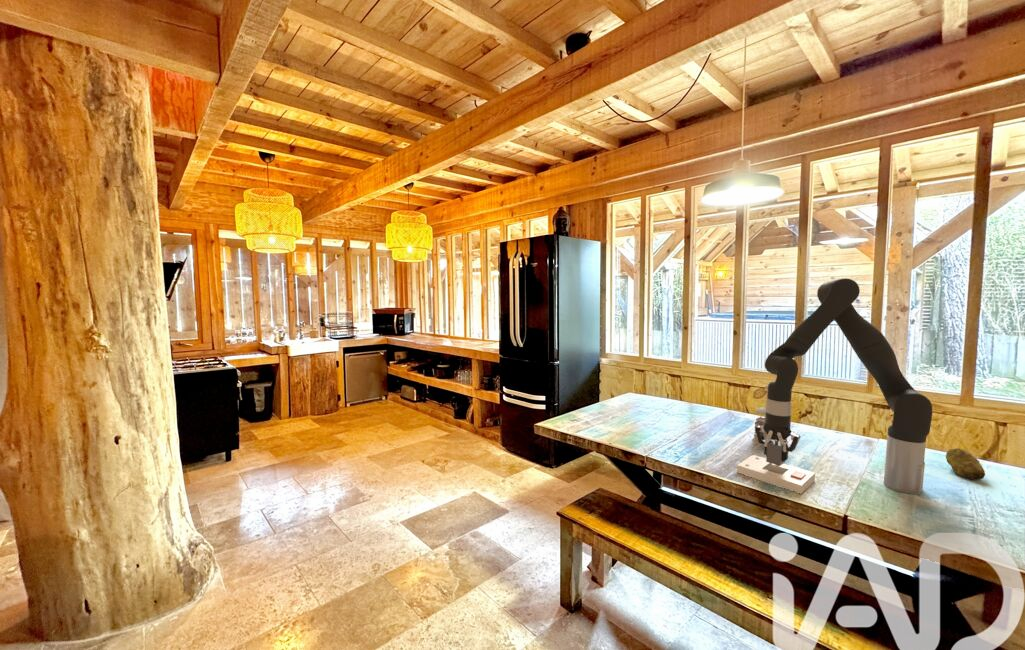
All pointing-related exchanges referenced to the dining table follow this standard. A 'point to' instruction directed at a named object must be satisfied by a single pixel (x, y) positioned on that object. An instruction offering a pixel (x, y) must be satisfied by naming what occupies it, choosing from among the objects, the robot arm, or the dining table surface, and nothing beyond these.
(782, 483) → the socket plate
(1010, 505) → the dining table surface
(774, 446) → the plug
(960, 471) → the potato
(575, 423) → the dining table surface
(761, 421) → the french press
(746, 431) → the dining table surface
